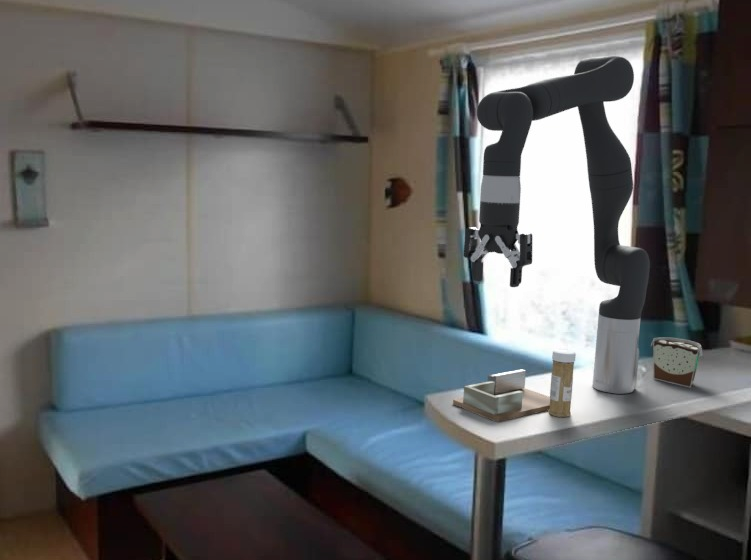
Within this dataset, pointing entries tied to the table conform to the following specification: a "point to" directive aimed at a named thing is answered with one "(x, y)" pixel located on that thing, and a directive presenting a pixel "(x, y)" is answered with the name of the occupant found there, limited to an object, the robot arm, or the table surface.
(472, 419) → the table surface
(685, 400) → the table surface
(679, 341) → the food container
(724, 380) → the table surface
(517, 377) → the bar
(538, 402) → the cradle board
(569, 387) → the tan spice jar
